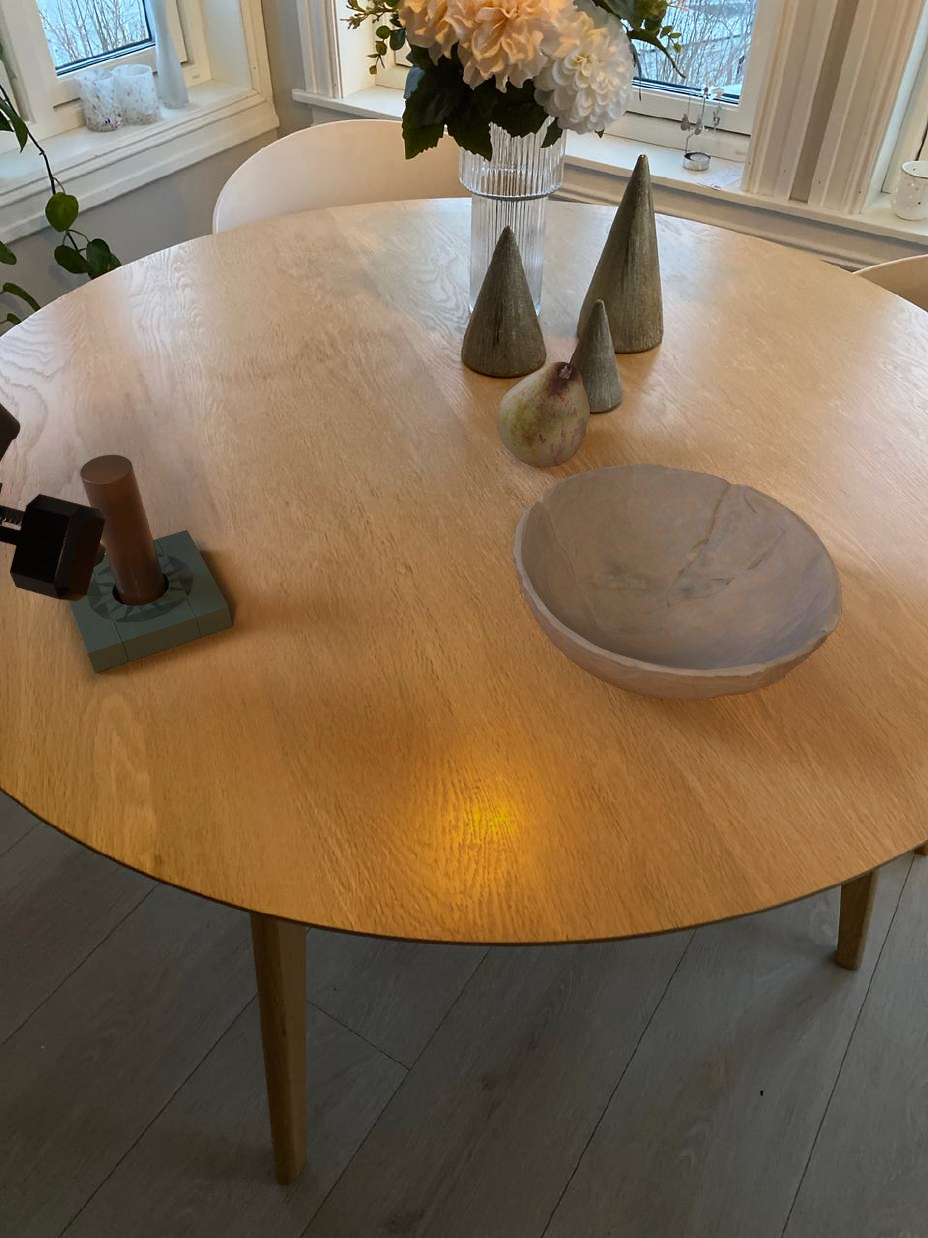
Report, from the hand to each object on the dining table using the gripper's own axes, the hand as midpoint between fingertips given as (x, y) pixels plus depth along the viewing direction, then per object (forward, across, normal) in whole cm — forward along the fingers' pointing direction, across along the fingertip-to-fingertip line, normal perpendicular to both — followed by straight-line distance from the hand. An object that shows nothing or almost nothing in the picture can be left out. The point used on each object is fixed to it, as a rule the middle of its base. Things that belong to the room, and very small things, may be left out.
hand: (50, 540), depth 72 cm
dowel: (+15, 0, +4) cm, 16 cm away
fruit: (+40, -26, -21) cm, 52 cm away
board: (+15, 0, +4) cm, 16 cm away
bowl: (+24, -44, -4) cm, 50 cm away
